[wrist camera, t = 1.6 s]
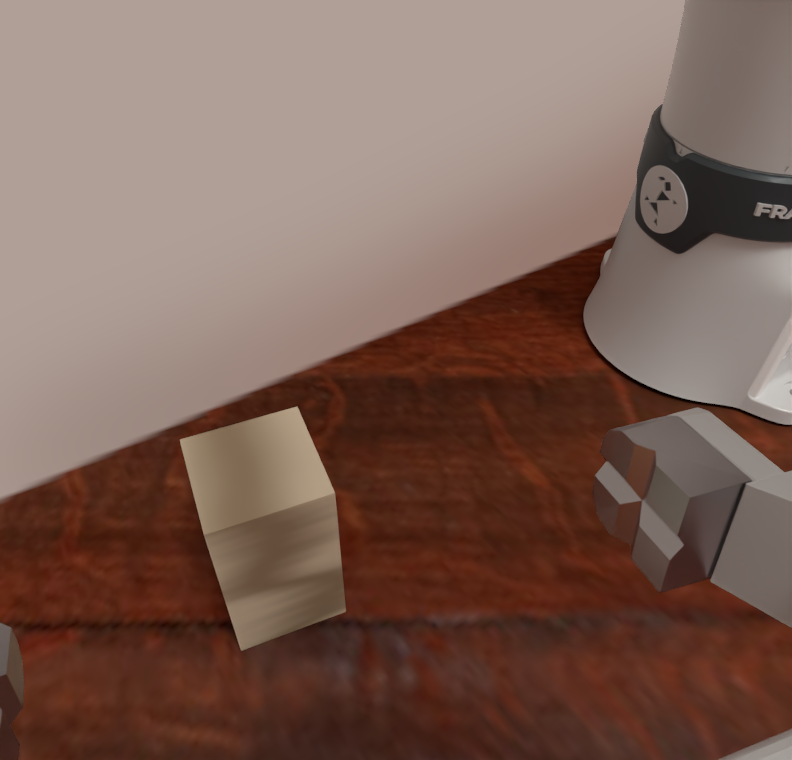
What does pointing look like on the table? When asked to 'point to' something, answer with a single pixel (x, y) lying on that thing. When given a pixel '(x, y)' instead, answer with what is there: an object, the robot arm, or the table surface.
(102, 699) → the table surface
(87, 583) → the table surface
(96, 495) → the table surface
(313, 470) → the maple block
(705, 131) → the robot arm
